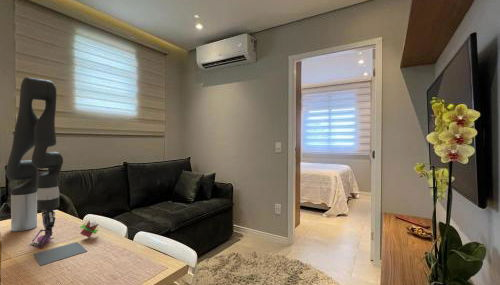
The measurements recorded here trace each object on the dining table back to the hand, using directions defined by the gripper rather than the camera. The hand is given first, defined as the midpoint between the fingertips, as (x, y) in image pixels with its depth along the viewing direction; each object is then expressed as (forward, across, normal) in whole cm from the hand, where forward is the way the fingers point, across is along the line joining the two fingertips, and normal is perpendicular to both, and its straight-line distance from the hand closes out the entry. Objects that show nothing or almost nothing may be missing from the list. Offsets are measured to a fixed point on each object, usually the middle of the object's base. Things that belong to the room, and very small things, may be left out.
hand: (48, 236), depth 105 cm
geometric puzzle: (+1, +12, +12) cm, 17 cm away
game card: (0, +9, -1) cm, 9 cm away
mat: (+1, +20, 0) cm, 20 cm away
